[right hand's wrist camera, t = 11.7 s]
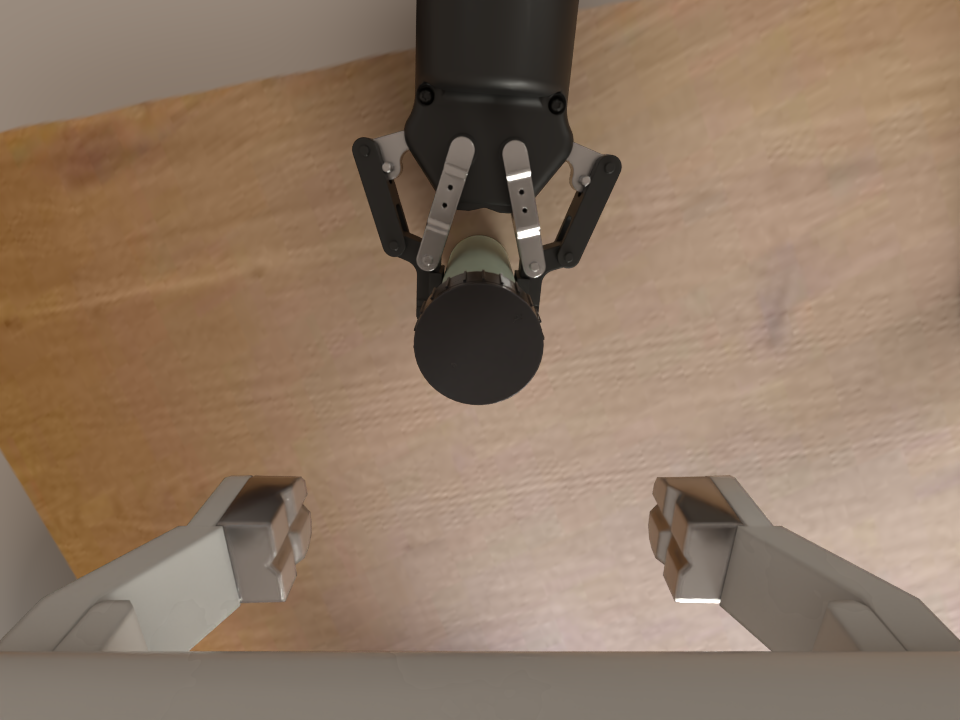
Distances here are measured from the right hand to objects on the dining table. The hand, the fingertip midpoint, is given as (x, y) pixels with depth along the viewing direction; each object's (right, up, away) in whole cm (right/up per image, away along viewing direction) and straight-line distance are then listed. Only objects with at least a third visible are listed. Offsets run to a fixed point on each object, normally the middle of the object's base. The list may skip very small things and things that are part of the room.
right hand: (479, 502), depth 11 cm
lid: (0, +4, +9) cm, 10 cm away
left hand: (0, +5, +19) cm, 20 cm away
